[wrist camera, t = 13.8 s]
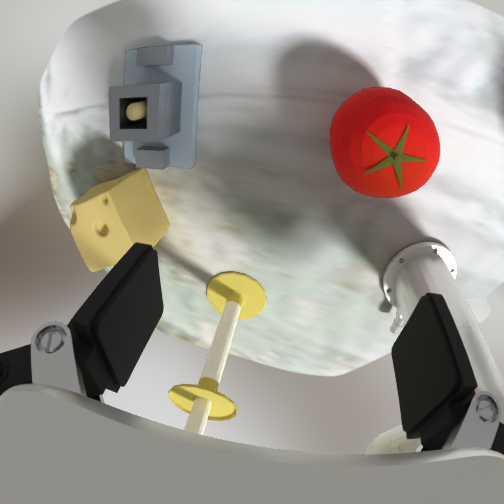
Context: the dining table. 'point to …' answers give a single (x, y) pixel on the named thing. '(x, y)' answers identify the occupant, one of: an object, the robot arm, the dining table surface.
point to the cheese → (117, 219)
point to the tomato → (383, 143)
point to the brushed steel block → (158, 111)
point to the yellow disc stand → (219, 350)
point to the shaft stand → (188, 72)
